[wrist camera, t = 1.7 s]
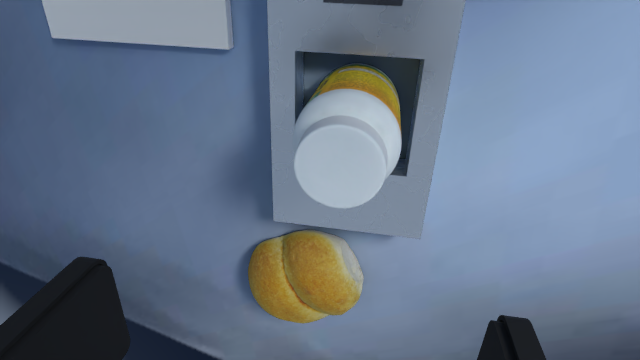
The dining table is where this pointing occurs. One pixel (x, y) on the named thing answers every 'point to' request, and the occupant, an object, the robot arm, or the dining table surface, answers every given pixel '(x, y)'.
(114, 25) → the plate
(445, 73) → the grey board with squares
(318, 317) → the bread roll
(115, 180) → the dining table surface
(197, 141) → the dining table surface
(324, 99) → the supplement bottle
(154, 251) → the dining table surface
